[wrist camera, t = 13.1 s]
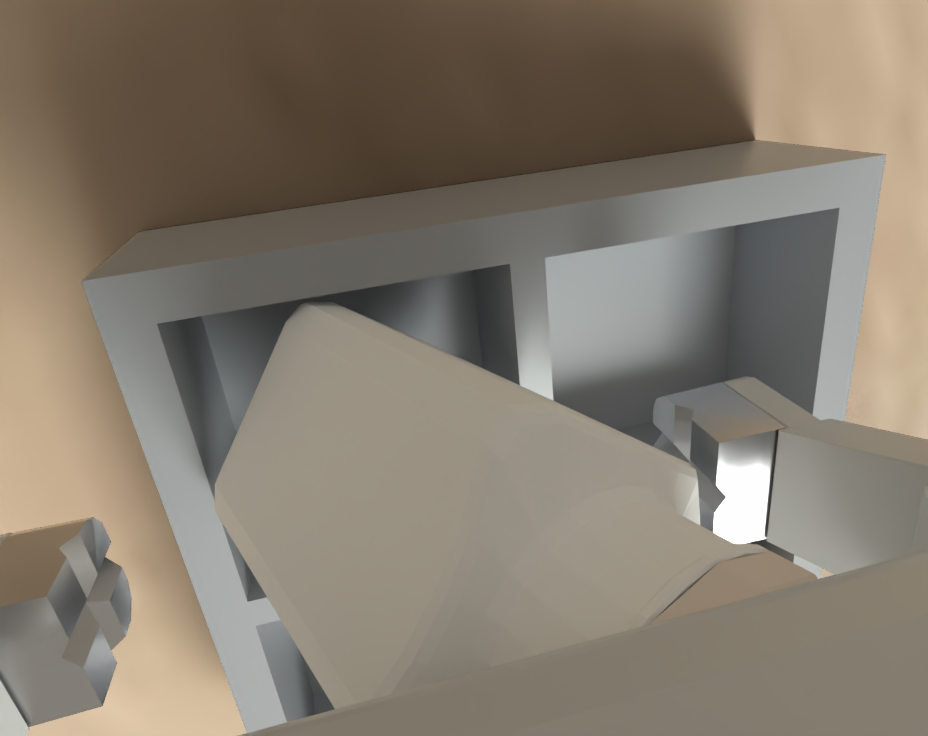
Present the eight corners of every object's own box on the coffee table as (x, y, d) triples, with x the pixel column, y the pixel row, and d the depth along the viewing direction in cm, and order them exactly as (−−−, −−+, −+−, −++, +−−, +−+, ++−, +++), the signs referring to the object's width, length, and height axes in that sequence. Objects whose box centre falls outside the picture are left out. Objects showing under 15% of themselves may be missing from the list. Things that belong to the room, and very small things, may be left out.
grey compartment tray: (756, 140, 15) (886, 154, 11) (723, 589, 20) (803, 686, 17) (138, 232, 12) (81, 281, 9) (289, 705, 18) (286, 840, 15)
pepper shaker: (462, 358, 13) (1062, 634, 6) (382, 536, 13) (873, 1034, 6) (287, 281, 11) (952, 597, 3) (190, 502, 11) (626, 1296, 3)
